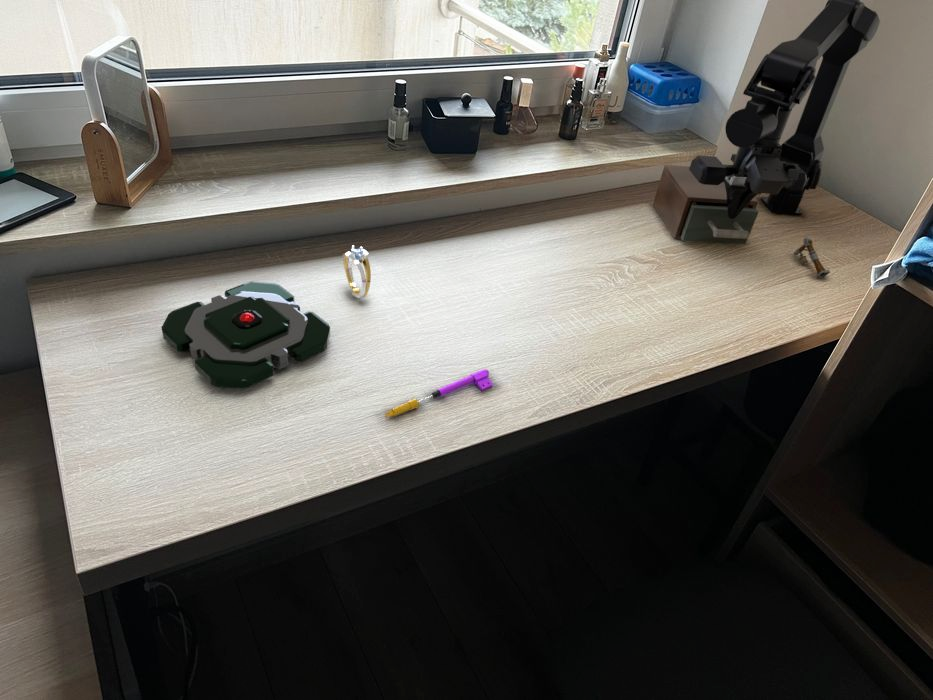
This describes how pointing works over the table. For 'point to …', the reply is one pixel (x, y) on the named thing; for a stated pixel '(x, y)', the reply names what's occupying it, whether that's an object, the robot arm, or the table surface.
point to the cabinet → (684, 196)
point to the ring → (358, 258)
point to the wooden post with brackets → (813, 255)
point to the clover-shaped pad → (246, 334)
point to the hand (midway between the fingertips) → (731, 217)
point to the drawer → (717, 223)
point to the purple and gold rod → (447, 391)
